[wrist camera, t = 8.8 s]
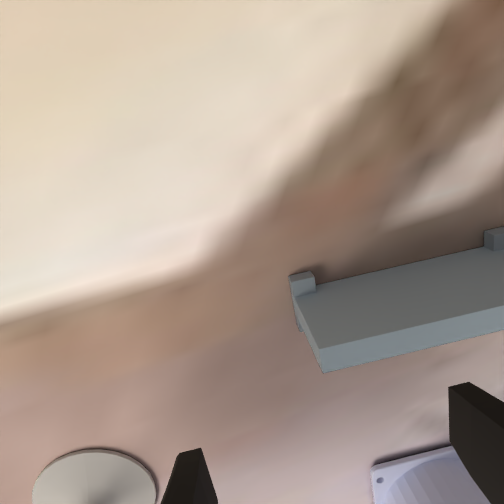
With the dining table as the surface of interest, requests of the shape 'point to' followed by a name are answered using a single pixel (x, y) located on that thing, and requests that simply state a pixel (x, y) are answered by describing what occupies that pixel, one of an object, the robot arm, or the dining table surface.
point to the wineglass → (94, 480)
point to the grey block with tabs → (403, 306)
